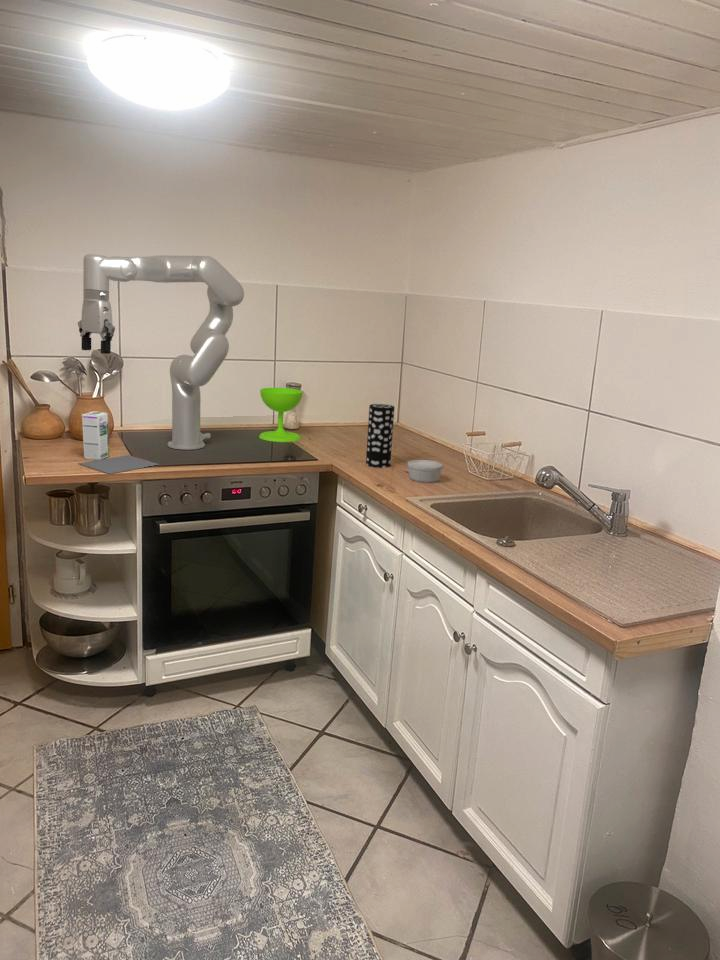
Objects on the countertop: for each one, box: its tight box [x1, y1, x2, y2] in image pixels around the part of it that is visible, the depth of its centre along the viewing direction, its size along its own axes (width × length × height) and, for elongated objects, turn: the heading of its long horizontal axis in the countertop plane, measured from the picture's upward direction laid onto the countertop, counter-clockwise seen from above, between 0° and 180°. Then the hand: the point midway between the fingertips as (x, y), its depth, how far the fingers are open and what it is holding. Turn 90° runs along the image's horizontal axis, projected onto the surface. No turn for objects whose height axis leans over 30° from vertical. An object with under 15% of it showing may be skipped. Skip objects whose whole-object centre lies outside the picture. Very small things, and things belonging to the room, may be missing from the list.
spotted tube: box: [365, 403, 395, 469], centre depth 250 cm, size 8×8×20 cm
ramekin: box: [407, 459, 443, 484], centre depth 236 cm, size 11×11×5 cm
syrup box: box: [81, 410, 110, 461], centre depth 237 cm, size 6×6×14 cm
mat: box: [78, 454, 160, 475], centre depth 232 cm, size 18×16×1 cm
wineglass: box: [258, 387, 303, 443], centre depth 284 cm, size 16×16×18 cm
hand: (95, 351), depth 236 cm, fingers open, 9 cm apart
